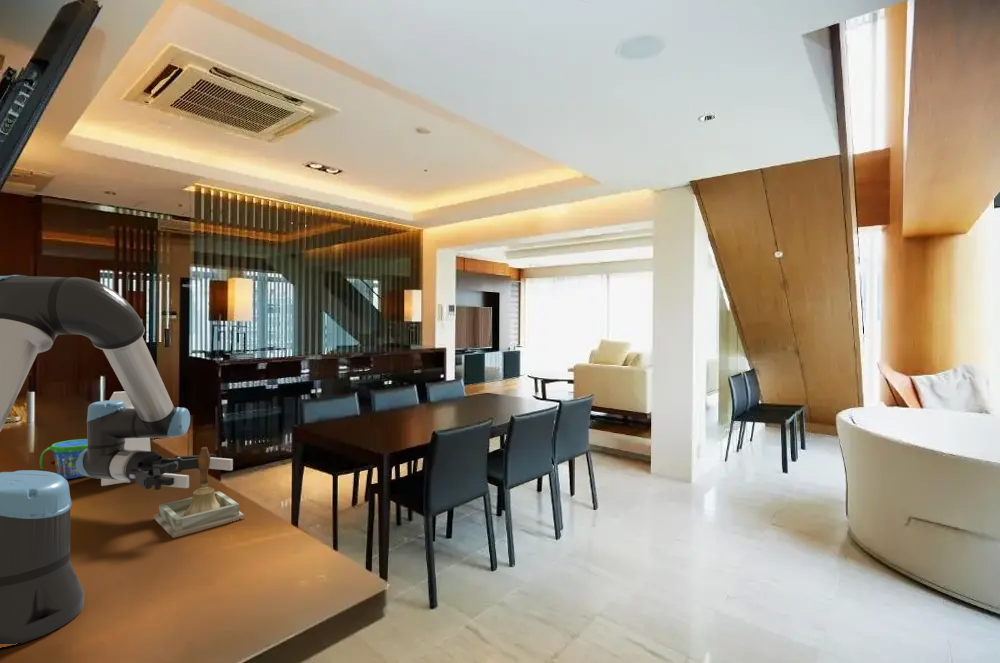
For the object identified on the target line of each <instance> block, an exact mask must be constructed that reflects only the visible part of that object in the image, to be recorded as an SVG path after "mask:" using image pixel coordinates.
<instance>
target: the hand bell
mask: <svg viewBox="0 0 1000 663" xmlns="http://www.w3.org/2000/svg"><path fill="white" fill-rule="evenodd" d="M210 454H211V453H210V452H209V449H208V447H207V446H203V447H201V448H200V451H199V457H198V466H199V468H198V470H199V474H200V476H199V477H200V478H199V479H200V480H199V487H198V488H196V489H195V490H194V491H193V492H192V497H193V498H192V502H191V504H190V506H189V508H188V509H187V510H186V511H185V513H184V516H188V515H192V514H196V513H200V512H204V511H208V510H212V509H216V508H220V507H222V505H220V504H219V503H218V502H217V500H216V497H215V493H214V492H215V489H214V488H213V487H212V486H211V487H210V486H208V484H209V483H208V482H209V478H208V476H209V475H208V474H209V470H210V469H209V466H210Z"/></svg>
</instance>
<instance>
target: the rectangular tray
mask: <svg viewBox="0 0 1000 663" xmlns="http://www.w3.org/2000/svg"><path fill="white" fill-rule="evenodd" d="M214 493H215V497H216V500H217V502H218V503H219V504H220V505H222V507H220V508H216V509H212V510H208V511H204V512H200V513H196V514H192V515H188V516H184V513H185V511H186V510H187V509H188V508H189V506H190V504H191V502H192V498H193V496H190V497H186V498H183V499H178V500H174V501H170V502H164V503H161V504H158V513H155V514H154V515H153V520H155V521H156V522H157V524H158V525H160V526H161V528H162V529H164V530H165V531H166V532H167V534H168V535H169V536H170V537H171V538H173V539H174V538H179V537H181V536H185V535H189V534H190V535H191V534H193V533H196V532H200V531H203V530H208V529H211V528H214V527H217V526H222V525H226V524H229V522H230V523H233V522H237V521H240V520H239V519H241V520H243V519H242V518H244V519H245V514H244V513H243V512H241V511H240V503H239V502H236V501H235V500H234V499H232V498H231V497H230V496H228V495H226V494H225V493H223V492H222V491H220V490H218V491H214ZM236 520H237V521H236ZM232 521H233V522H232Z"/></svg>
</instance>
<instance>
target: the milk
mask: <svg viewBox="0 0 1000 663" xmlns="http://www.w3.org/2000/svg"><path fill="white" fill-rule="evenodd" d="M109 400H121V401H123V402H124V403H125V406H126V408H134V407H133V405H132V403H131V401H130V399H129V397H128V396H127V394H126V392H125V390H124V391H113V393H112V394H111V396H110V398H109ZM125 449H129V450H141V451H152V450H151V449H152V448H151V438H125ZM124 483H127V482H126V481H124V480H114V479H100V485H101V487H103V486H104V487H105V486H110V485H118V484H124Z"/></svg>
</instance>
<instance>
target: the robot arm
mask: <svg viewBox="0 0 1000 663" xmlns="http://www.w3.org/2000/svg"><path fill="white" fill-rule="evenodd" d="M145 329H146V328H145V326H144V323H143V321H142V319H141V317H140V315H139V314H138V313H137V312H136V310H135V309H134V307H133V306H132V305H131V304H130V303H129V302H128V301H127V300H126V299H125V298H124V297H123V296H122V295H120V294H119V293H118V292H117V291H115V289H112V288H110V287H108V285H105V284H103V283H101V282H99V281H97V280H94V279H90V278H85V277H79V276H73V277H67V276H66V277H65V276H64V277H62V276H60V277H59V276H33V275H32V276H31V275H30V276H27V275H23V274H22V275H21V274H12V275H0V433H1V431H2V430H3V427H4V425H5V423H6V421H7V419H8V416H9V415H10V413H11V410H12V408H13V407H14V404H15V402H16V400H17V398H18V395H19V393H20V392H21V389H22V387H23V385H24V384H25V381H26V379H27V377H28V375H29V372H30V370H31V369H32V367H33V364H34V362H35V360H36V358H37V356H38V354H41V353H44V352H47V351H49V350H51V349H52V346H53V345H54V342H55V340H56V338H57V337H58V336H59V335H65V336H66V335H73V336H74V335H80V336H84V337H86V338H88V339H89V340H90V341H91V344H92V345H93V346H94V347H95V348H97V349H99V350H102V352H103V353H104V355H105V357H106V359H107V361H108V362H109V364H110V366H111V368H112V369H113V372H114V373H115V375H116V377H117V379H118V381H119V382H120V384H121V386H122V389H123V390H124V391H125V392H126V394H127V396H128V397H129V399H130V401H131V403H132V405H133V407H134V408H126V406H125V403H124V402H123V401H121V400H110V399H109V400H100V401H94V402H92V403H90V404H89V405H88V407H87V418H86V424H87V426H86V427H87V428H86V430H87V431H86V432H87V434H86V435H87V438H86V439H88V447H87V449H85V450H83V451H82V452H81V453H80V454H79V457H78V459H77V460H76V468H77V471H78V472H79V473H80V474H82V475H84V476H83V477H88V478H93V479H97V480H98V479H99V480H101V479H114V480H124V481H126V482H125V483H128V484H129V483H131V482H132V483H136V484H137V485H139V486H140V487H142V488H144V490H150V489H152V488H153V487H152V486H154V491H158V490H161V489H162V487H171V488H180V489H188V488H190V475H188V474H179V473H181V472H183V471H186V470H196V469H199V466H198V457H199V455H195V454H193V455H174V458H170V457H162V455H161V454H160V453H159V452H156V451H152V450H151V451H141V450H129V449H125V438H150V439H153V438H154V439H156V438H167V439H168V438H175V437H183V436H185V435H186V434H187V432H188V431H189V427H190V425H191V424H190V423H191V414H190V410H188V408H186V407H179V406H177V407H175V406H174V404H173V401H172V400H171V398H170V395H169V393H168V390H167V388H166V387H165V384H164V382H163V379H162V377H161V375H160V372H159V370H158V368H157V366H156V364H155V361H154V360H153V357H152V355H151V352H150V350H149V348H148V346H147V343H146V341H145V340H144V337H143V336H144V335H145V332H146V330H145ZM209 454H210V466H209V469H208V470H210V469H211V470H221V471H222V470H223V471H230V472H231V471H233V469H234V466H233V465H234V459H233V458H225V457H224V458H223V457H217V454H214V453H209ZM176 468H177V469H176ZM70 493H71V492H70V485H69V481H68V479H65V478H64V477H62V476H61V475H59V474H57V472H52V471H47V470H45V471H44V470H33V469H30V470H28V469H27V470H26V469H25V470H23V469H22V470H16V471H1V472H0V644H16V643H17V644H18V643H21V644H24V643H28V642H30V641H34V640H35V639H38V638H40V637H41V638H42V637H43V636H45V635H48V634H50V633H52V632H54V631H56V630H58V629H60V628H61V627H63V626H64V625H67V624H68V623H69V622H71V621H73V620H74V619H75V618H76V617H77V616H78V615H79V614H80V613H81V612H82V610H83V609H84V607H85V590H84V588H83V586H82V584H81V582H80V579H79V577H78V575H77V573H76V571H75V569H74V567H73V564H72V561H71V506H72V498H71V494H70ZM18 645H19V644H18Z"/></svg>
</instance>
